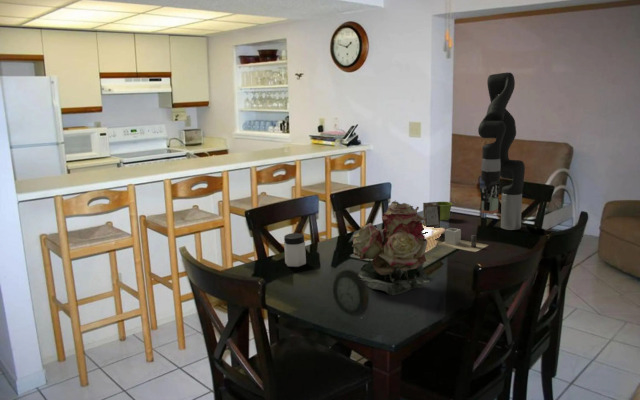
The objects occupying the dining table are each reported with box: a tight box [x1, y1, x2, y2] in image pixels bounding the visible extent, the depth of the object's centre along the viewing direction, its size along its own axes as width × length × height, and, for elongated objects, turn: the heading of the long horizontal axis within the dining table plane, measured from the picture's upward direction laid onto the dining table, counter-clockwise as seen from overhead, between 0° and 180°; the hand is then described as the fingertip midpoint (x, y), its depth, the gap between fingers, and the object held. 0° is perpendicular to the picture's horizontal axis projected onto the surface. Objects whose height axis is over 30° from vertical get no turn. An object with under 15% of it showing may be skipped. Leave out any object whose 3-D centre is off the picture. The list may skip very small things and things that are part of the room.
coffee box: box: [422, 201, 441, 229], centre depth 243 cm, size 9×6×16 cm
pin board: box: [437, 234, 489, 253], centre depth 227 cm, size 12×18×6 cm, turn 46°
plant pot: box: [436, 201, 453, 222], centre depth 275 cm, size 9×9×9 cm
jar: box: [283, 232, 307, 268], centre depth 216 cm, size 9×8×12 cm
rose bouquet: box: [351, 200, 431, 296], centre depth 189 cm, size 26×29×30 cm
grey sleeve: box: [444, 227, 462, 245], centre depth 231 cm, size 5×5×6 cm
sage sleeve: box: [480, 197, 499, 215], centre depth 220 cm, size 5×5×6 cm
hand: (489, 209), depth 220 cm, fingers closed on sage sleeve, 5 cm apart
